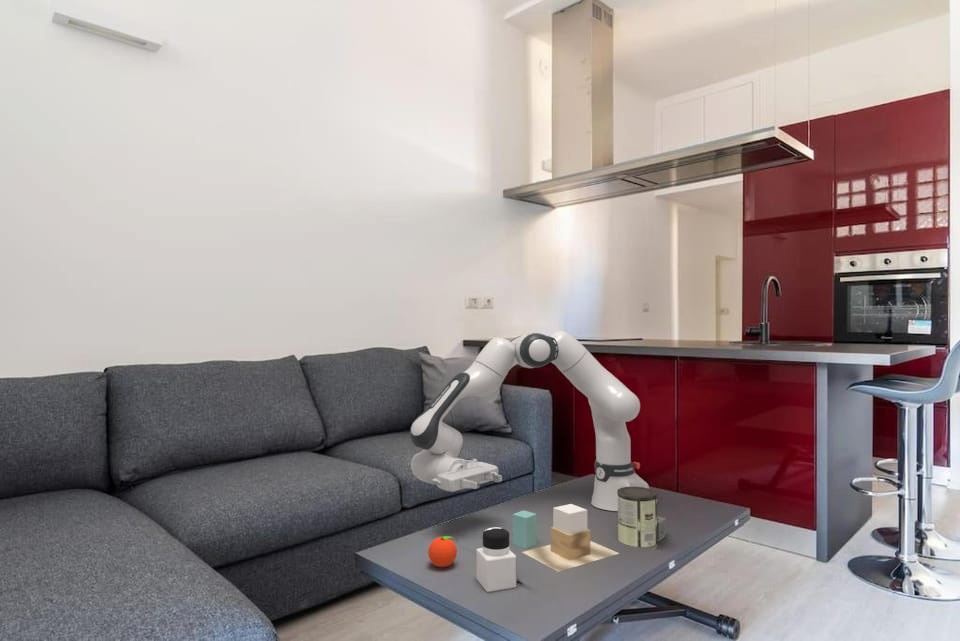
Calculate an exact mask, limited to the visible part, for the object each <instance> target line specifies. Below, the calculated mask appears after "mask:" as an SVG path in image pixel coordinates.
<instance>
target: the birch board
mask: <svg viewBox="0 0 960 641" xmlns="http://www.w3.org/2000/svg"><path fill="white" fill-rule="evenodd" d="M521 553H522V554H524V555H526V556H528V557H530V558H532V559H533V560H535V561H537V562H539V563H541V564H543V565H544V566H546V567H548V568H550V569H552V570H554V571H556V572H558V573H560V572H562V571H566V570H570V569H572V568H573V569H574V568H576V567H579V566H582V565H586V564H589V563H593V562H595V561H600V560H602V559H606V558H609V557H613V556H615V555H619V554H620V553H619V552H617V551H616V550H615V551H614V550H613V549H610V548H607V547H605V546H604V545H601V544H600V543H596V542H595V541H592V540H590V555H586V556H583V557H580V558H576V559H573V560H567V559H565V558H563V557H561V556H559V555H557V554H555V553H553V552H551V544H547V545H543V546H540V547H536V548H532V549H529V550H524V551H521Z"/></svg>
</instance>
